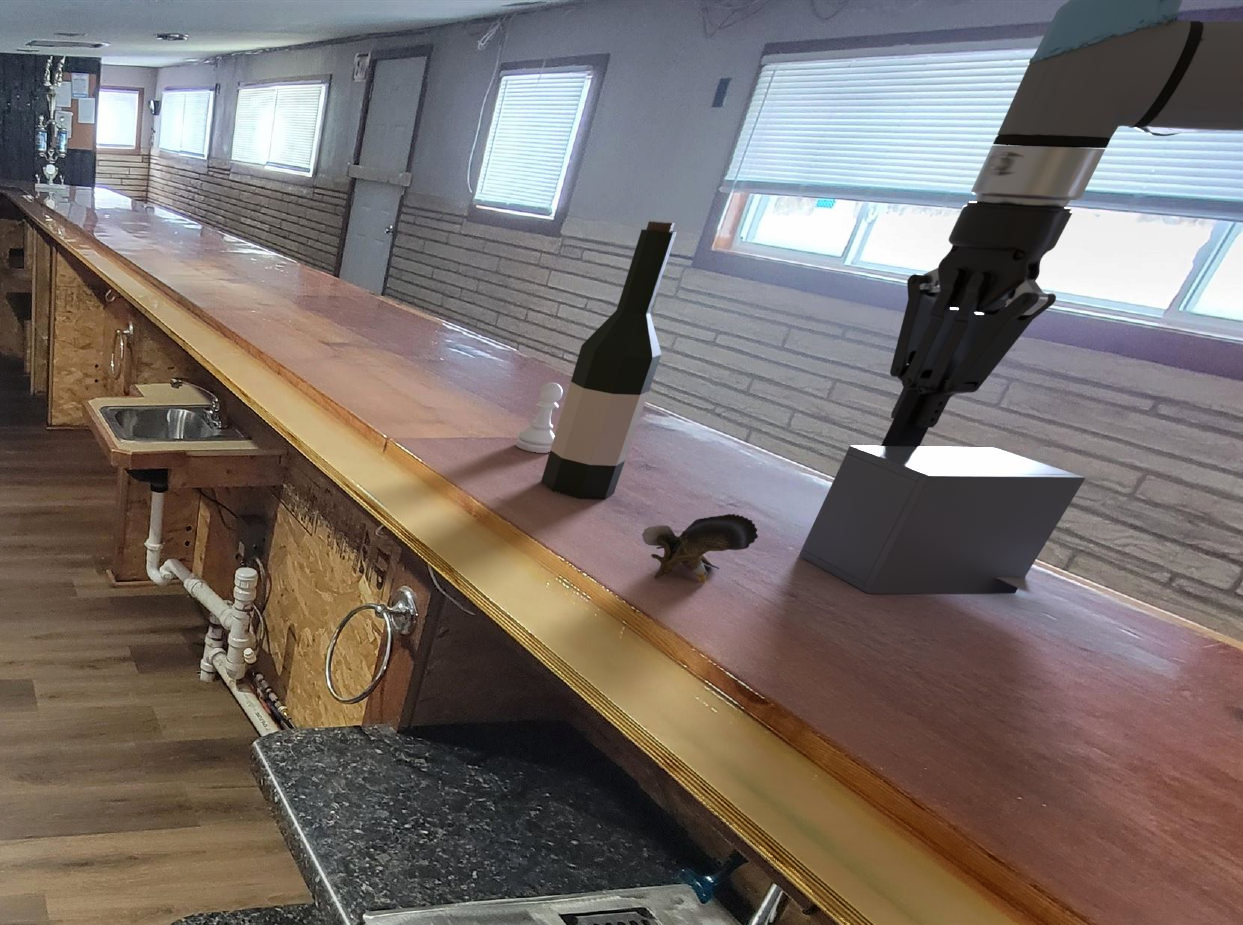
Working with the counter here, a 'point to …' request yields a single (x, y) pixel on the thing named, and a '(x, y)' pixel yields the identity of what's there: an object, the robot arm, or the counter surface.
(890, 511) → the grey cardboard box
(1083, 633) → the counter surface
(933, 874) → the counter surface
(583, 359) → the wine bottle
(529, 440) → the chess pawn
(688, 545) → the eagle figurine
